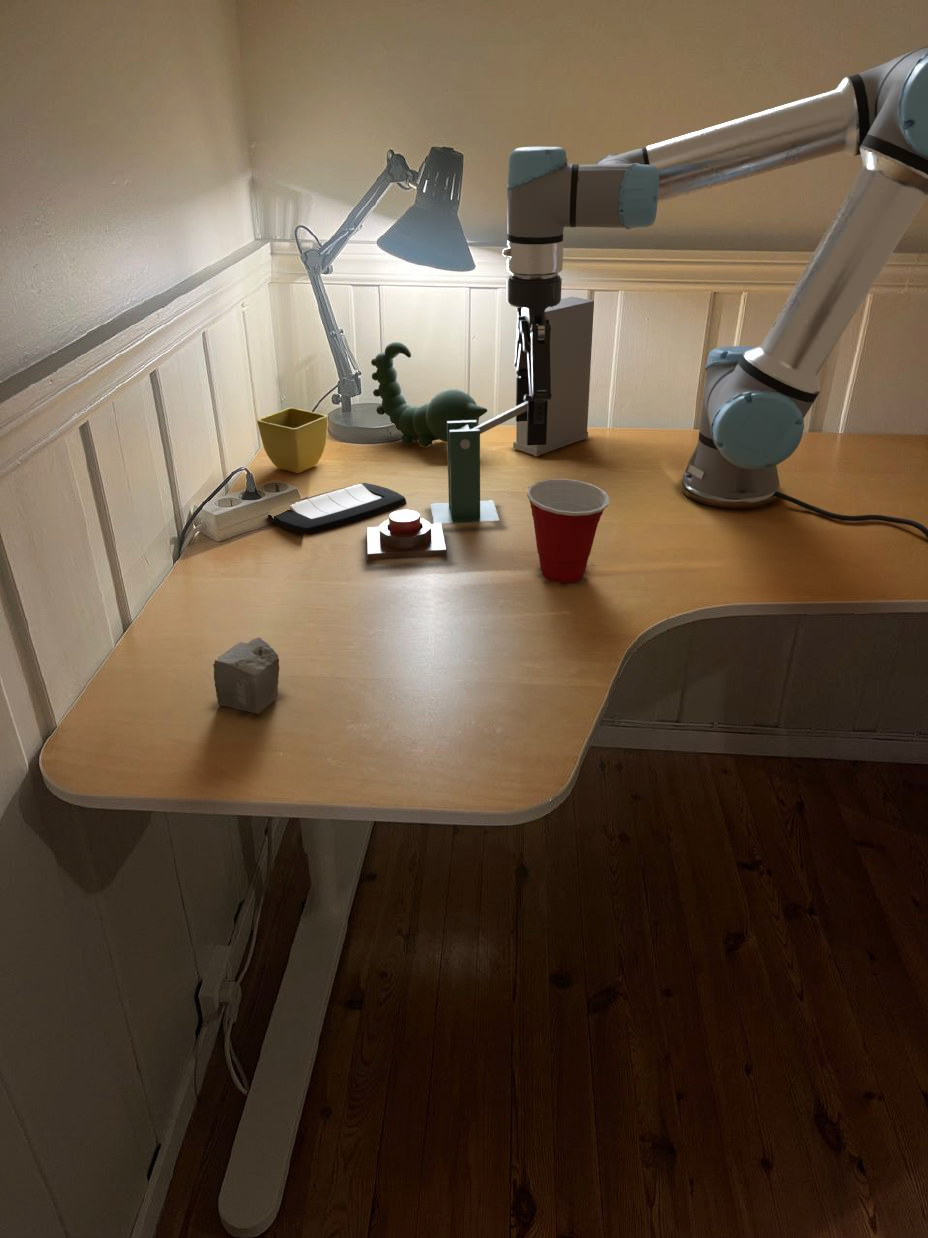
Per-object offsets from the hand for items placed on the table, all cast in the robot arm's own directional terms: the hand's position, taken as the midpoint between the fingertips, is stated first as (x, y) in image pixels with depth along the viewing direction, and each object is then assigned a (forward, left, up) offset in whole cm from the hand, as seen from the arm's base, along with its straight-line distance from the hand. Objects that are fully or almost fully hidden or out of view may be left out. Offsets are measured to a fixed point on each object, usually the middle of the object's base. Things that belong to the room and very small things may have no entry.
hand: (530, 431), depth 139 cm
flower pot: (+43, +12, -14) cm, 47 cm away
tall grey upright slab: (+18, -27, -14) cm, 36 cm away
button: (+4, +22, -10) cm, 24 cm away
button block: (+4, +22, -13) cm, 26 cm away
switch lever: (+3, +4, +1) cm, 5 cm away
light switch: (+22, +20, -14) cm, 33 cm away
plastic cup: (-17, +12, -14) cm, 24 cm away
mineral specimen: (-12, +59, -14) cm, 61 cm away
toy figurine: (+34, -12, -14) cm, 39 cm away
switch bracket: (+6, +8, -13) cm, 17 cm away
